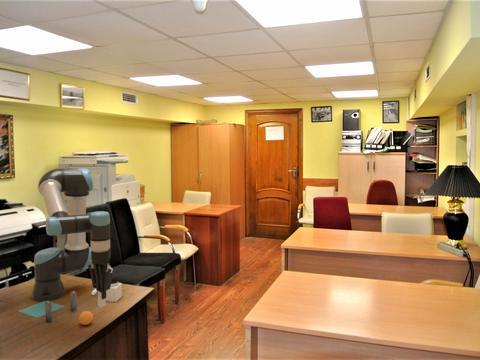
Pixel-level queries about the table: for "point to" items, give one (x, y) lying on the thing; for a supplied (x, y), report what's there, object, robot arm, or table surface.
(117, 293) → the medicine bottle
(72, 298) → the post
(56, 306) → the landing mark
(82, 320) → the ball
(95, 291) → the marker
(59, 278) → the robot arm
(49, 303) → the post
